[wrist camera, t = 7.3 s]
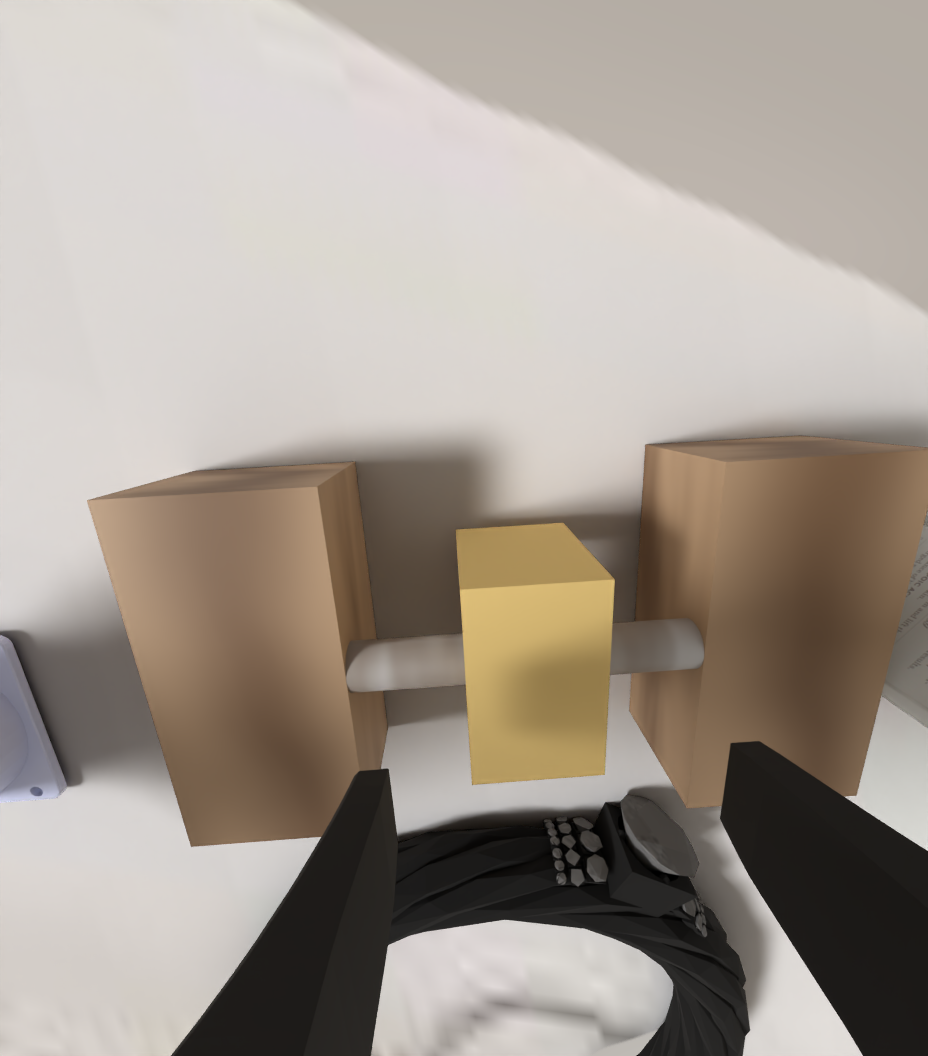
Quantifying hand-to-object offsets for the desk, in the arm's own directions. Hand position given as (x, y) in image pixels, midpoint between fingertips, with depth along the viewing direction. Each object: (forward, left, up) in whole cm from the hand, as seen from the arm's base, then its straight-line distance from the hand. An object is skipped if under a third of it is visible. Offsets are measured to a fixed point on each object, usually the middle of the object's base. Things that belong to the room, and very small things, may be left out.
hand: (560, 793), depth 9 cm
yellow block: (0, 0, -8) cm, 8 cm away
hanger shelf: (0, 0, -9) cm, 9 cm away
